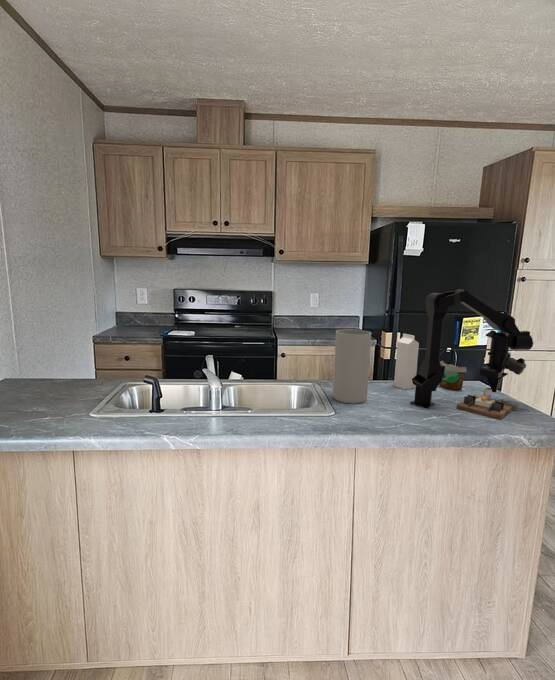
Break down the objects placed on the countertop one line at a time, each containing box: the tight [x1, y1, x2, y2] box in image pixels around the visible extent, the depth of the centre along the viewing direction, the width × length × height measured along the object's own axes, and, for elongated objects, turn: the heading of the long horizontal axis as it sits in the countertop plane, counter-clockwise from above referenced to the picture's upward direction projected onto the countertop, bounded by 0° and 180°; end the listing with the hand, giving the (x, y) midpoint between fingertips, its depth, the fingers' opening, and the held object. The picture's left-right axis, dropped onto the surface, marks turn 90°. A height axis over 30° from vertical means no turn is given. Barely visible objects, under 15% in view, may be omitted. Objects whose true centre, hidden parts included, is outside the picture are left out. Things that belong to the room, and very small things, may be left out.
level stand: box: [456, 394, 516, 420], centre depth 139 cm, size 16×14×4 cm
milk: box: [393, 333, 420, 390], centre depth 161 cm, size 6×6×22 cm
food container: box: [439, 360, 467, 391], centre depth 163 cm, size 12×6×10 cm, turn 25°
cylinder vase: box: [332, 328, 372, 405], centre depth 144 cm, size 12×12×25 cm
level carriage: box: [475, 387, 496, 408], centre depth 137 cm, size 5×5×6 cm
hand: (494, 392), depth 143 cm, fingers closed
